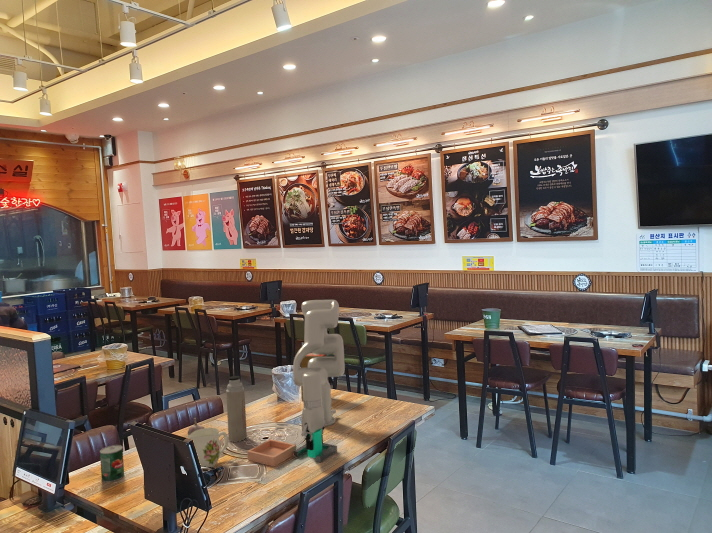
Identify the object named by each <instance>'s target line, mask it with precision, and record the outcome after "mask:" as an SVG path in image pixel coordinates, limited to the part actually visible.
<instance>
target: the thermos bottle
mask: <svg viewBox="0 0 712 533" xmlns="http://www.w3.org/2000/svg"><path fill="white" fill-rule="evenodd" d="M245 393H246V392H245V388H244V385H243V382H241V376H239V375H232V376H229V377H228V384H227V386H226V390H225V396H226V397H225V398H226V413H227V414H226V415H227V431H228V433H227V436H228V441H229V440H231V441H239V442H241V441H240V440H243V441H245V440H246V439H247V438H248V435H247V434H248V433H247V432H248V431H247V415H246V412H247V411H246V394H245ZM246 437H247V438H246ZM245 438H246V439H245ZM244 439H245V440H244ZM231 441H230V442H231Z"/></svg>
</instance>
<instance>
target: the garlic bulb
mask: <svg viewBox="0 0 712 533" xmlns="http://www.w3.org/2000/svg"><path fill="white" fill-rule="evenodd" d="M193 423H194V424H193V425H191V426H189V428H188V430H187V436H188V435H190V434H191V433H192V432H194V431H196V430H199V429H203V428H205V427H204V426H203V425H200V424H198V422H197V418H196V417H194V418H193Z"/></svg>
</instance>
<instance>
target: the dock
mask: <svg viewBox="0 0 712 533" xmlns="http://www.w3.org/2000/svg"><path fill="white" fill-rule="evenodd" d="M336 453H338V445H337V444H336V445H335V444H330V443H325V442H323V444H322V452H321V453H320V454H318V455H317V456H316V458H315V462H316V463H318V464H322V463H323V462H324V461H326V460H327V459H329V458H330V457H332V456H333V455H335V454H336ZM305 454H308V449H306V443H304V444H303V445H302V446H300V447H297V448H296V450H295V451H294V455H293V457H294V458H297V459H298V458H301V457H302V456H303V455H305Z"/></svg>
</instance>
